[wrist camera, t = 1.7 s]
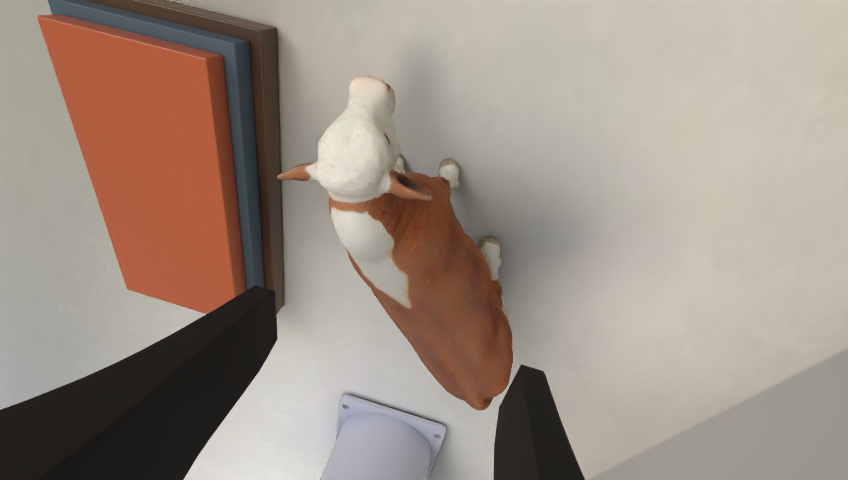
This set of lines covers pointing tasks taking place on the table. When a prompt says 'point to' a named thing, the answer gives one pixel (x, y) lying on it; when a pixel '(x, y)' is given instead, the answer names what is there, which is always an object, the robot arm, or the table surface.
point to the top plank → (155, 157)
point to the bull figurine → (414, 247)
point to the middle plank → (238, 97)
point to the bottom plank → (265, 113)
